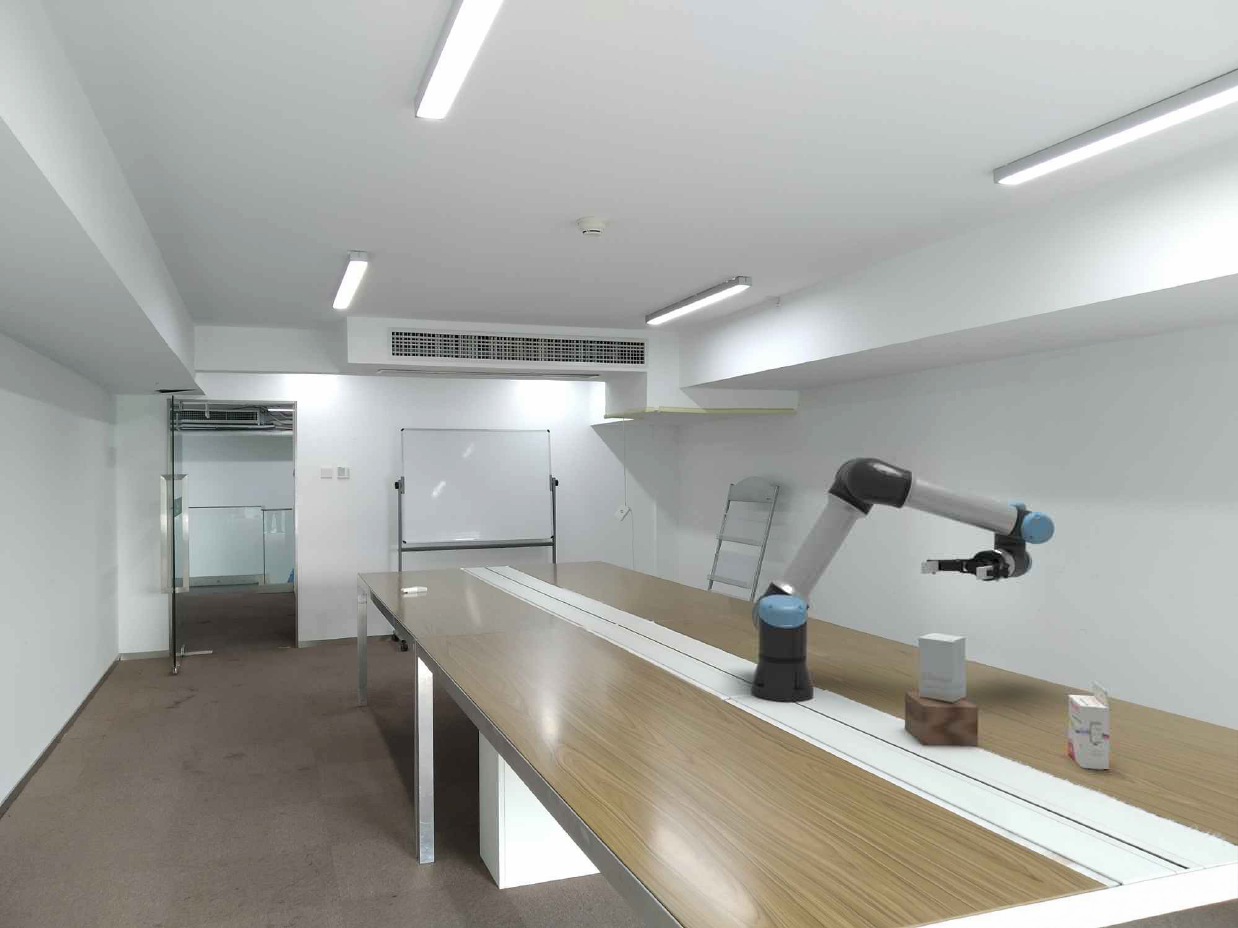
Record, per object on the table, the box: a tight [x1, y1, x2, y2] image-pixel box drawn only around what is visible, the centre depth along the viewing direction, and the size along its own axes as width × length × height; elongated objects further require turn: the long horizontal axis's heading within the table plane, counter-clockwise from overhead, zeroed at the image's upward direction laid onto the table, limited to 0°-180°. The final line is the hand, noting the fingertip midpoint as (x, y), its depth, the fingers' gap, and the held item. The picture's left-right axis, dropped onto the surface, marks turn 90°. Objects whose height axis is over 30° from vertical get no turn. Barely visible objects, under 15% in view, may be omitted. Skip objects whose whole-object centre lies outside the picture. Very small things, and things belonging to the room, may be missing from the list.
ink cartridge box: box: [1067, 680, 1110, 770], centre depth 161 cm, size 9×5×15 cm, turn 168°
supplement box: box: [918, 632, 967, 702], centre depth 177 cm, size 7×7×13 cm
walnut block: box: [904, 691, 979, 747], centre depth 175 cm, size 11×11×8 cm
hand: (949, 570), depth 197 cm, fingers open, 13 cm apart
